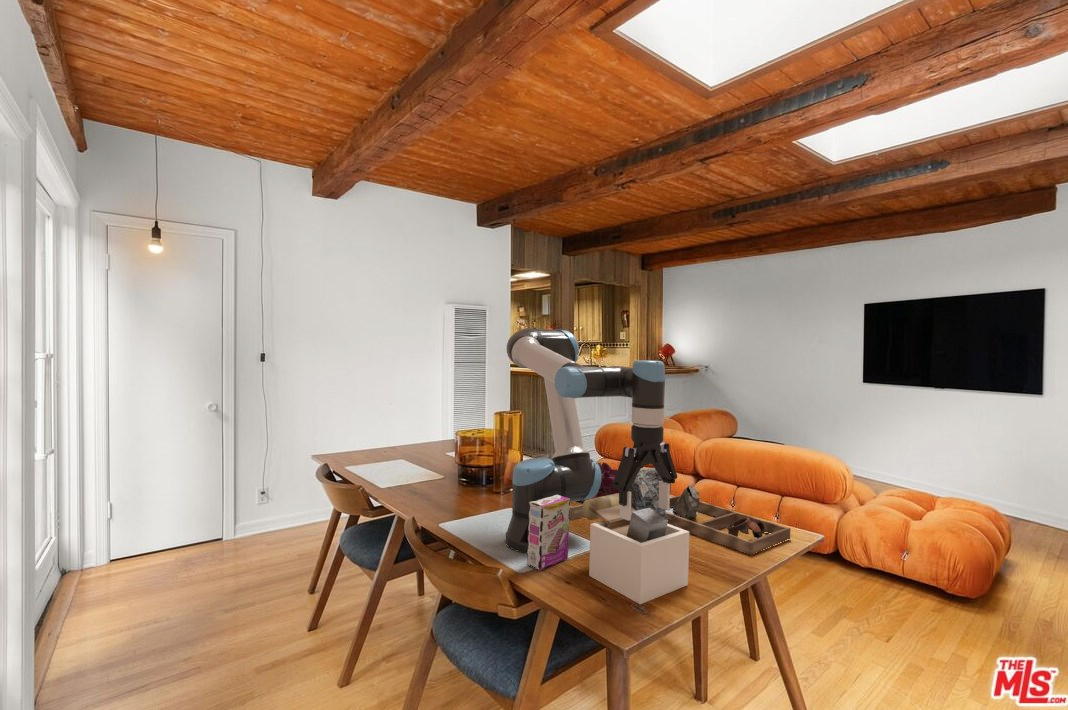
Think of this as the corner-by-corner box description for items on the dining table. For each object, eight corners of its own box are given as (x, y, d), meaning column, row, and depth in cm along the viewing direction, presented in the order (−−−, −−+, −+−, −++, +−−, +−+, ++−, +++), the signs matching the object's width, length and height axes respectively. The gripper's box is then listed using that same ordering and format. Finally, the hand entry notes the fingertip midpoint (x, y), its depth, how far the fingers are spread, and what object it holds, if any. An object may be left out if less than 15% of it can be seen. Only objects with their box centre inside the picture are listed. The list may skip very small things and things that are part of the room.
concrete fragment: (681, 506, 180) (682, 476, 180) (707, 525, 161) (708, 491, 161) (665, 507, 179) (666, 476, 179) (689, 526, 160) (690, 491, 160)
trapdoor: (577, 514, 130) (581, 496, 129) (613, 505, 138) (617, 489, 137) (633, 560, 114) (638, 540, 113) (671, 548, 122) (675, 529, 121)
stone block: (638, 546, 143) (640, 476, 143) (614, 536, 150) (615, 470, 150) (674, 531, 155) (676, 467, 155) (650, 523, 162) (651, 462, 162)
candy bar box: (540, 572, 125) (542, 506, 125) (526, 565, 129) (527, 501, 128) (569, 559, 133) (570, 497, 133) (555, 553, 137) (556, 493, 136)
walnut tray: (640, 514, 170) (641, 504, 170) (680, 504, 183) (680, 495, 183) (751, 555, 138) (751, 543, 138) (790, 540, 150) (790, 528, 150)
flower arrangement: (538, 495, 190) (539, 456, 190) (570, 485, 205) (571, 449, 205) (608, 514, 169) (609, 470, 169) (638, 502, 184) (639, 461, 184)
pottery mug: (756, 554, 140) (741, 526, 142) (731, 557, 148) (717, 531, 150) (779, 535, 147) (764, 508, 149) (754, 539, 154) (740, 514, 156)
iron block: (645, 548, 116) (650, 525, 115) (627, 533, 121) (632, 511, 120) (662, 543, 119) (668, 520, 118) (644, 529, 124) (649, 507, 123)
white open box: (589, 575, 124) (590, 524, 123) (635, 560, 133) (637, 512, 133) (640, 604, 110) (641, 546, 110) (688, 584, 120) (689, 531, 120)
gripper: (668, 419, 130) (666, 501, 130) (598, 426, 116) (596, 518, 116) (693, 423, 124) (691, 509, 124) (621, 431, 109) (619, 528, 110)
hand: (645, 513), depth 120 cm, fingers open, 13 cm apart
